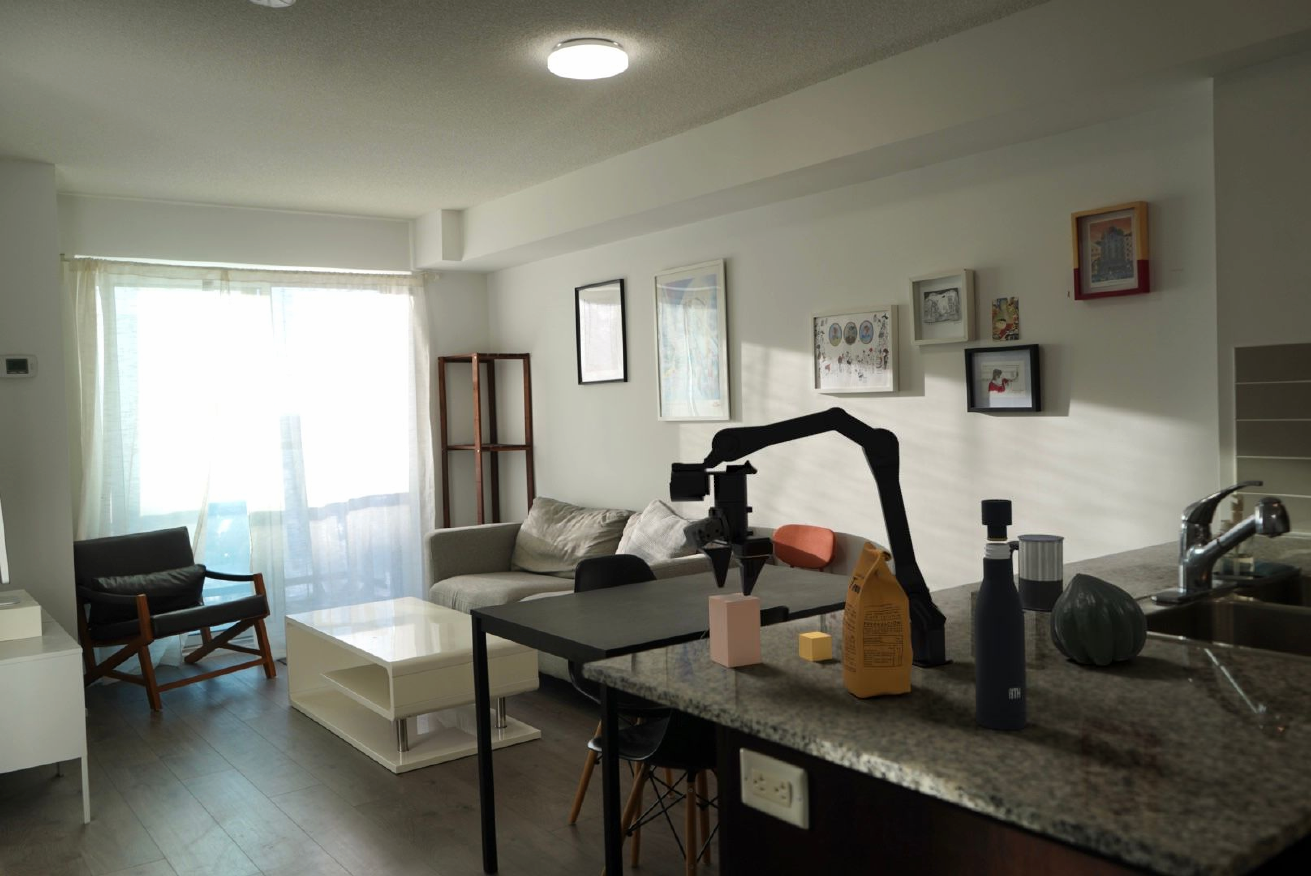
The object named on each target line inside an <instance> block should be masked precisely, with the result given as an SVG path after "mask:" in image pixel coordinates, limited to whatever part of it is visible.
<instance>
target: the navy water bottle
mask: <svg viewBox="0 0 1311 876" xmlns="http://www.w3.org/2000/svg"><path fill="white" fill-rule="evenodd" d="M980 501H981V502H980V504H981V505H980V508H981V509H980V510H981V525H982V526H986V532H987V533H986V535H987V537H986V540H987V541H989V542H987V543H985V546H984V550H985V551H984V554H985V556H984V557H983V558H982V569H983V570H982V571H983V572H982V573H983V574H982V575H983V576H982V581H981V585H980V587H979V590H978V593H977V597H976V601H975V606H974V613H973V614H974V615H973V625H974V626H973V627H974V629H973V630H974V664H975V665H974V668H975V669H974V670H975V671H974V673H975V711H976V712H975V713H976V715H975V716H976V719H975V720H976V723H977V724H978V725H979V726H982V727H984V728H986V727H987V729H991V730H996V729H997V731H1016V730H1021V729H1023V728H1025V727H1026V726H1027V725H1028V717H1027V716H1028V715H1027V714H1028V713H1027V709H1028V707H1027V674H1026V673H1027V672H1026V670H1027V669H1026V666H1027V665H1026V629H1025V628H1026V624H1025V623H1026V622H1025V615H1024V614H1025V613H1024V608H1022V603H1021V599H1020V596H1019V593H1018V588H1017V586H1016V583H1015V579H1014V580H1013V573H1014V558H1013V559H1012V558H1011V557H1010V554H1011V553H1010V552H1009V550H1010V549H1011V548H1010V547H1009V544H1007V542H1008V527H1009V526H1012V525H1013V507H1012V506H1013V505H1012V504H1013V501H1012V500H1011V499H1004V498H1002V499H999V498H994V499H993V498H991V499H988V498H987V499H983V500H980ZM1006 541H1007V542H1006ZM1005 542H1006V543H1005Z"/></svg>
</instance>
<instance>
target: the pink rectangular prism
mask: <svg viewBox="0 0 1311 876" xmlns="http://www.w3.org/2000/svg"><path fill="white" fill-rule="evenodd" d="M708 613H709V630H710V629H713V630H716V631H718V632H721V633H723V634H726V635H732V634H739V633H747V632H754V631H760V632H762V631H761V601H760V598H759V597H756V596H753V595H750V596H744V595H743V592H736V593H730V594H719V595H711V596H708Z"/></svg>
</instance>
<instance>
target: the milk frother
mask: <svg viewBox="0 0 1311 876" xmlns="http://www.w3.org/2000/svg"><path fill="white" fill-rule="evenodd" d="M1016 537H1017V539H1018V540H1010V541H1007V542H1006V543H1007V544H1009V547H1010V548H1011V549H1010V550H1009V552H1010V553H1011V554H1010V557H1011V558H1012V559H1013V560H1014V557H1013V554H1014V552H1015V551H1017V553H1018V554H1017V555H1018V556H1017V559H1018V560H1017V561H1018V562H1017V563H1018V565H1017V566H1018V568H1017V569H1018V570H1017V571H1018V574H1017V575H1018V576H1017V577H1018V578H1017V579H1018V580H1017V581H1018V583H1017V584H1018V588H1017V591H1018V593H1019V596H1020V599H1021V603H1022V608H1023V609H1027V610H1032V611H1046V612H1047V611H1049V612H1052V610H1053V608H1054V606H1055V604H1056V602H1057V600H1058V599H1059V597H1060V596H1061V594H1062V593H1063V592H1064V540H1066V539H1065V537H1064V536H1061V535H1053V534H1042V533H1040V534H1039V533H1038V534H1035V533H1033V534H1032V533H1031V534H1021V535H1018V536H1016ZM1014 574H1015V573H1014V572H1013V580H1014V581H1015V578H1014V577H1015V575H1014Z"/></svg>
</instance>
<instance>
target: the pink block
mask: <svg viewBox="0 0 1311 876" xmlns="http://www.w3.org/2000/svg"><path fill="white" fill-rule="evenodd" d="M761 637H762V636H761V631H754V632H747V633H739V634H732V635H726V634H723V633H721V632H718V631H716V630H713V629H710V628H709V648H710V649H709V651H710V655H709V656H710V661H712V662H715V663H717V664H719V665H722V666H723V667H726V668H728V669H729V668H735V667H736V668H737V667H743V666H749V665H755V664H761V663H762V639H761Z"/></svg>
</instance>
